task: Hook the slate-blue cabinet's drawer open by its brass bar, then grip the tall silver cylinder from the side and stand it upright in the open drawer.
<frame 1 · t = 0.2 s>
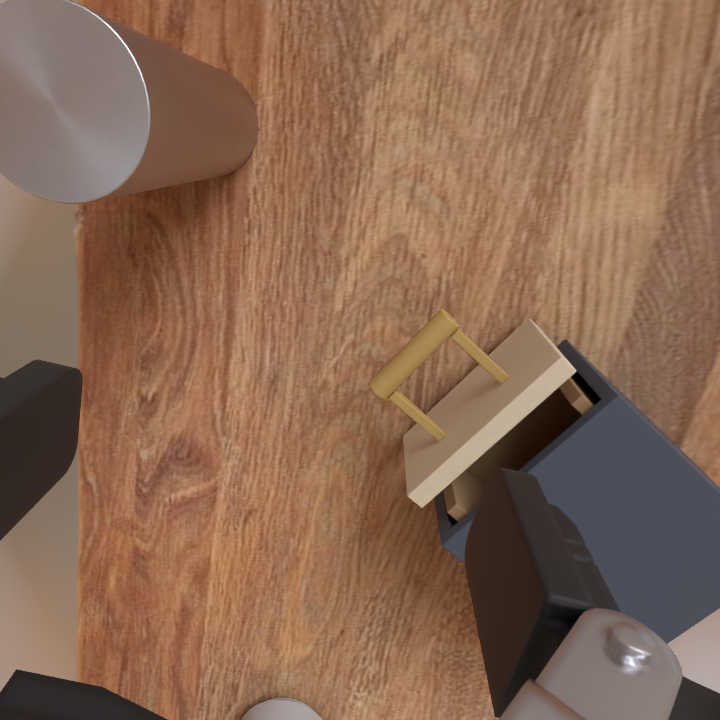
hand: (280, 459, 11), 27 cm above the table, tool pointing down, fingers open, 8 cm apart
cylinder: (207, 123, 34), on the table
cabinet: (566, 468, 41), on the table
drawer: (516, 443, 36), point 5 cm above the table, slide at 2.0 cm
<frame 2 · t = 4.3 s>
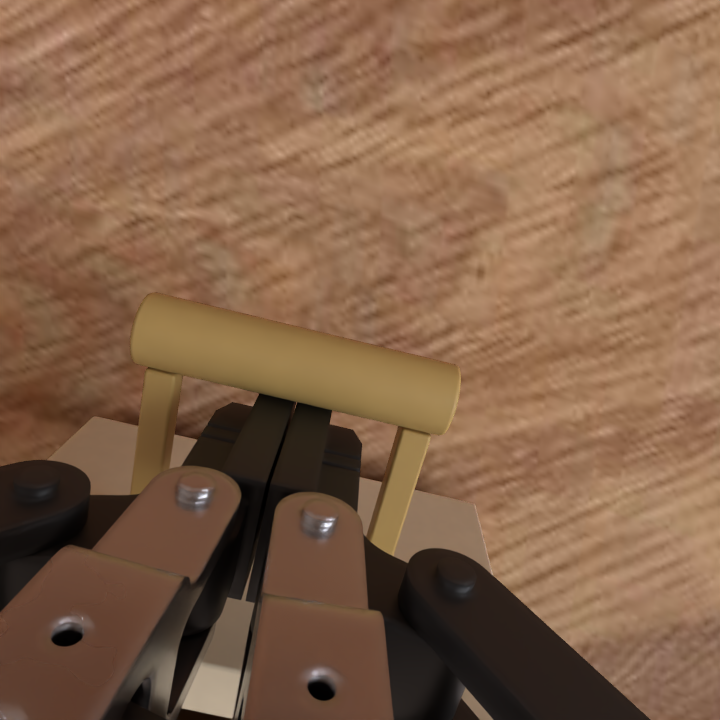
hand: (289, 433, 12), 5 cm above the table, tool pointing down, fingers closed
drawer: (235, 663, 15), point 5 cm above the table, slide at 2.9 cm
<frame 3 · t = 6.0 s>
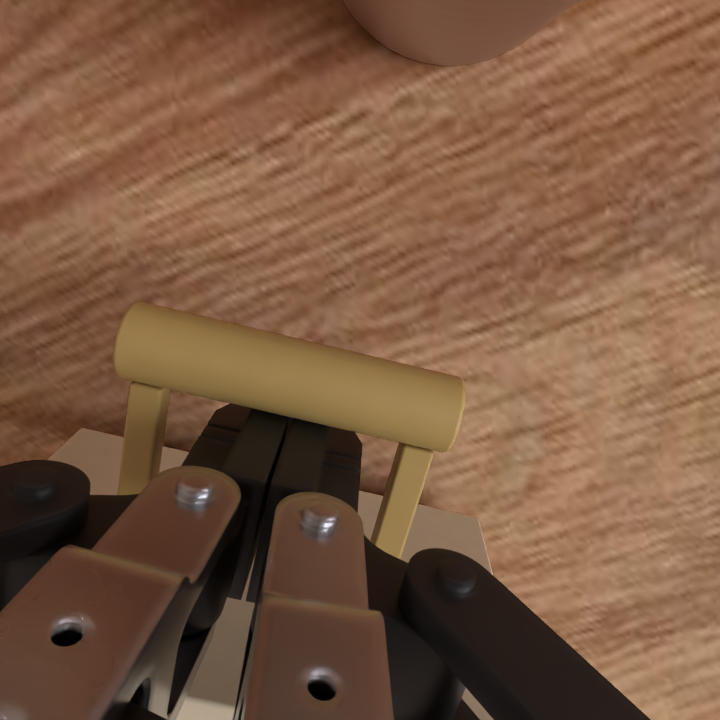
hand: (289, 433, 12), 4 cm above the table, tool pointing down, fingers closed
drawer: (228, 688, 14), point 5 cm above the table, slide at 10.1 cm
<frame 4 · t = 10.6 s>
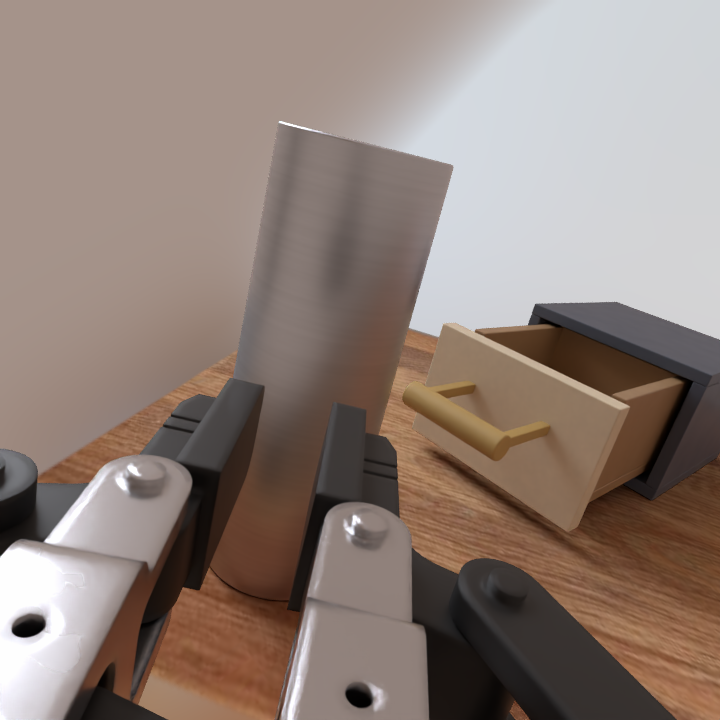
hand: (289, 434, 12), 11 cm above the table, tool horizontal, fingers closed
cylinder: (274, 549, 25), on the table
cabinet: (609, 435, 47), on the table
drawer: (536, 410, 36), point 5 cm above the table, slide at 10.1 cm
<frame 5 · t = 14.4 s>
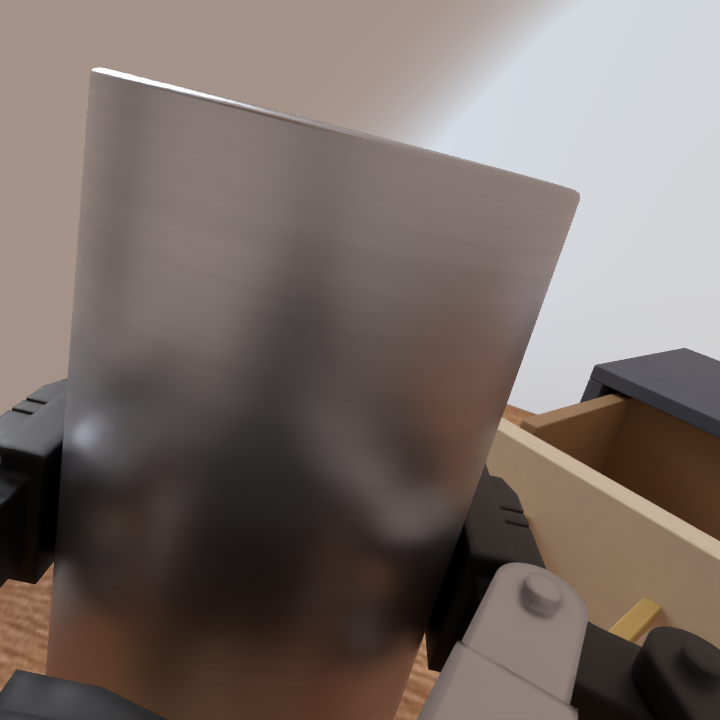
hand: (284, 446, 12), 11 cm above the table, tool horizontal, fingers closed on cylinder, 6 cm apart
cabinet: (687, 535, 35), on the table
drawer: (617, 546, 24), point 5 cm above the table, slide at 10.1 cm
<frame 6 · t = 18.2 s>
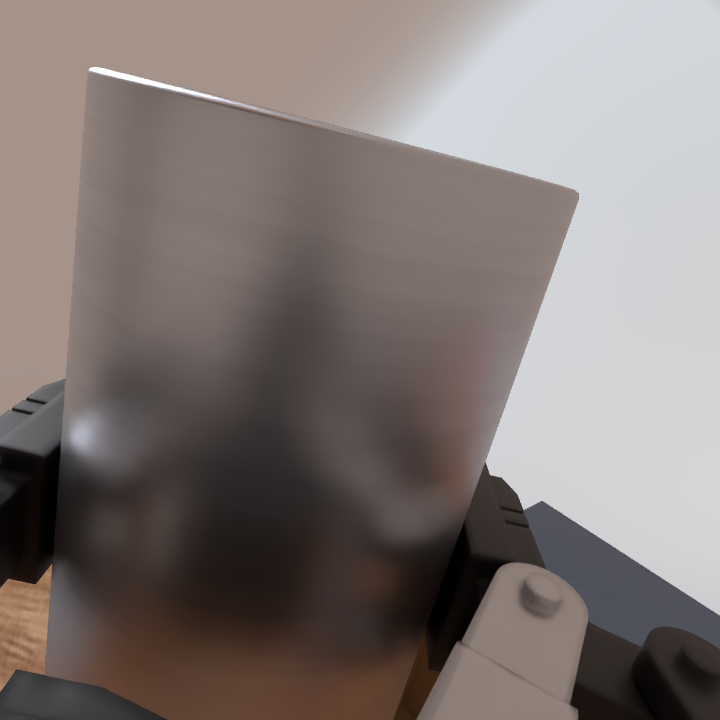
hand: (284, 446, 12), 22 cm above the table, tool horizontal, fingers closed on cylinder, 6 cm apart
when the fingers open (13 cm above the table, at t = 22.3 s): cylinder stays where it is, resting on drawer.
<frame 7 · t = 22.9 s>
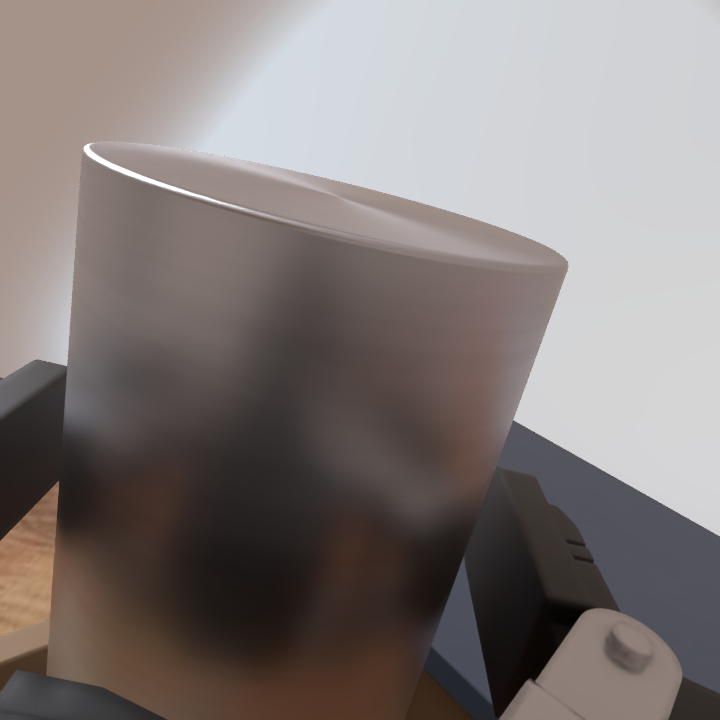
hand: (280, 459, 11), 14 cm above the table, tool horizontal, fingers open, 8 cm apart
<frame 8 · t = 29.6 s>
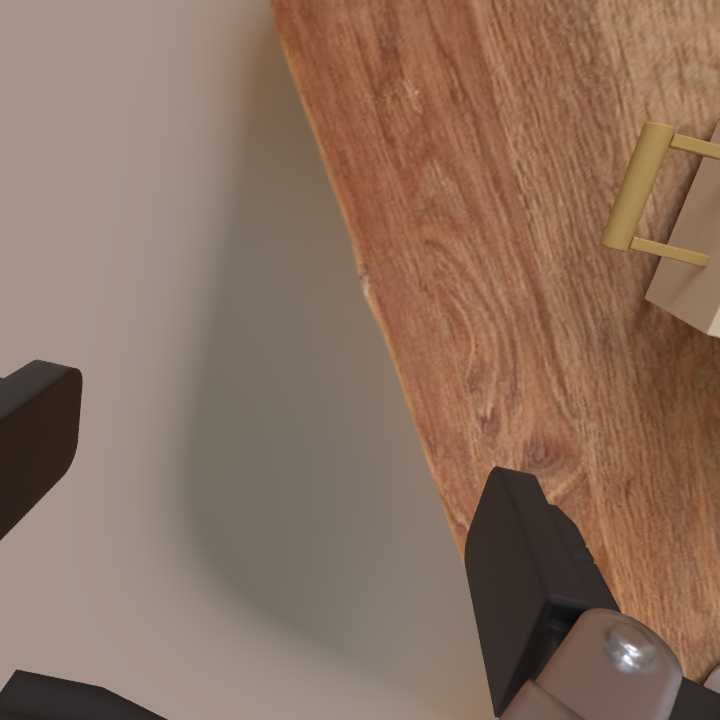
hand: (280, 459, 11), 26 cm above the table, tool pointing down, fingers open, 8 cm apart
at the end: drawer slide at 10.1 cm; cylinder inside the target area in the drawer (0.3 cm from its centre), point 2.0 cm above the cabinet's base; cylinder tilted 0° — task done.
